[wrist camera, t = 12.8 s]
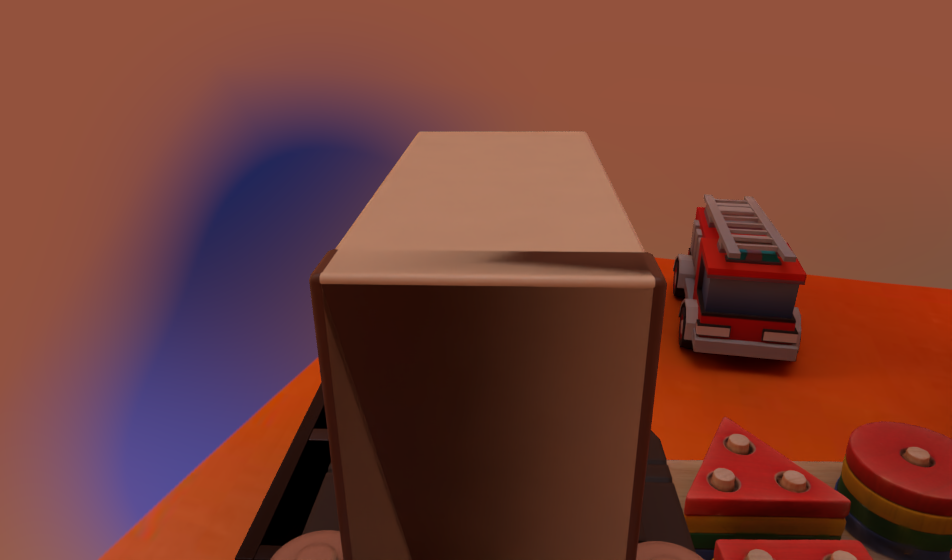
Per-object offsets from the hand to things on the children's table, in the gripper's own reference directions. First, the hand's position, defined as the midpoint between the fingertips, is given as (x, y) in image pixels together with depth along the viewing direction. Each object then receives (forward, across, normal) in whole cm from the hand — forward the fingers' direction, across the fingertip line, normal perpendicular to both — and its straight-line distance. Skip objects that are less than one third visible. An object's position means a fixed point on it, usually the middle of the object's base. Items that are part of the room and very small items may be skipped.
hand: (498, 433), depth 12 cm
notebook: (-3, 0, +6) cm, 7 cm away
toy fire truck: (+44, -19, +20) cm, 52 cm away
